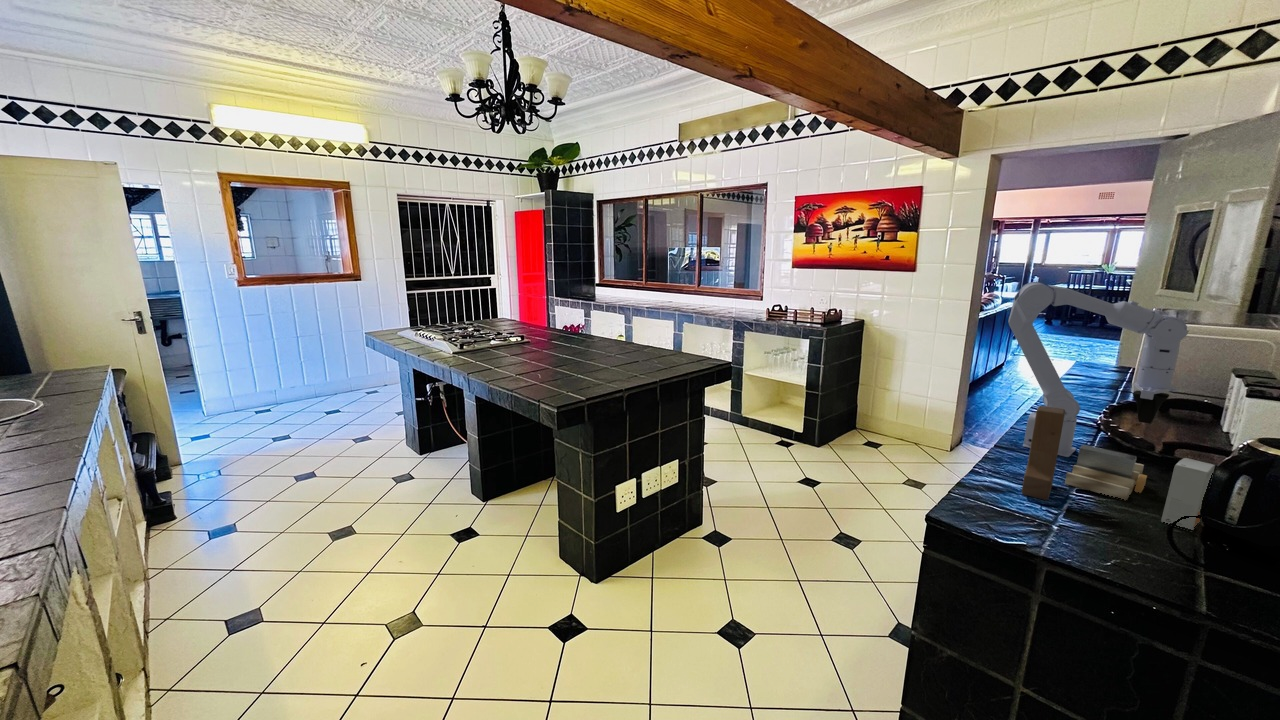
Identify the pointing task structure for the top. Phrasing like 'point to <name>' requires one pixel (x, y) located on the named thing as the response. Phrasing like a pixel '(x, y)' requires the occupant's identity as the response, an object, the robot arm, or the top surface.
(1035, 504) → the top surface
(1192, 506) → the skincare box
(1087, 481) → the rack
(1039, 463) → the wooden block
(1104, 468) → the panel
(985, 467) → the top surface
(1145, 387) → the robot arm
